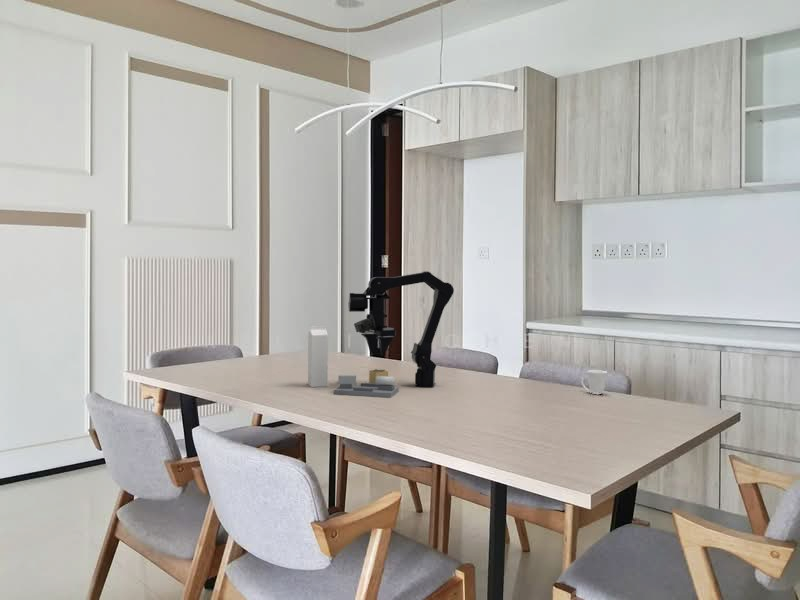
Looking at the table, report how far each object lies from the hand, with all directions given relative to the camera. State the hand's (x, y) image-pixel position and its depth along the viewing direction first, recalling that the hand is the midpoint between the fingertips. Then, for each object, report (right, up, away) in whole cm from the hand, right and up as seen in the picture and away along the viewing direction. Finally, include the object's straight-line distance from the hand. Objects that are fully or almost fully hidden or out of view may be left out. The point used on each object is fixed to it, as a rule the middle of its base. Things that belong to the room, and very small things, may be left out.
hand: (377, 354), depth 234 cm
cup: (+77, -14, -6) cm, 79 cm away
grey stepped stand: (-3, -12, -13) cm, 18 cm away
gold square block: (0, -12, -1) cm, 12 cm away
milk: (-22, -12, 0) cm, 25 cm away
